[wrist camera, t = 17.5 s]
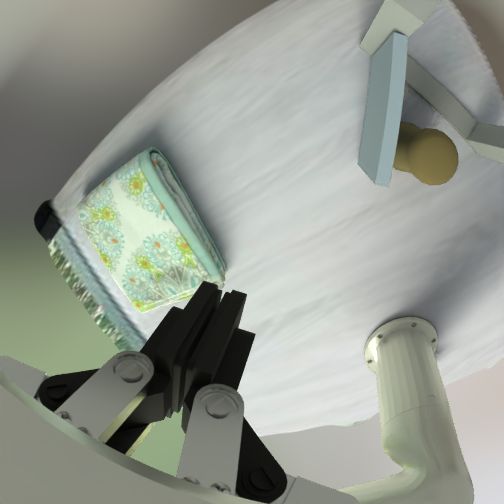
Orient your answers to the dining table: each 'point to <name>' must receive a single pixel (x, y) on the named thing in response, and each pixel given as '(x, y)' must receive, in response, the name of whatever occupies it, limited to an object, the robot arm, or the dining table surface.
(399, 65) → the door
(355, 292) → the dining table surface
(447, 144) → the cork
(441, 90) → the door frame
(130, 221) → the towel
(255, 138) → the dining table surface
